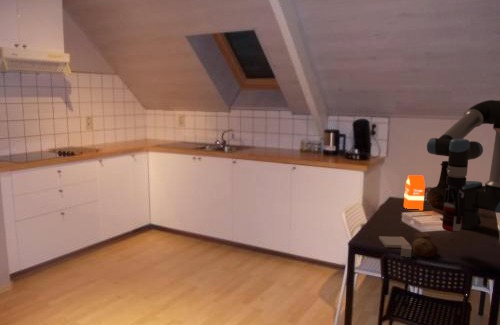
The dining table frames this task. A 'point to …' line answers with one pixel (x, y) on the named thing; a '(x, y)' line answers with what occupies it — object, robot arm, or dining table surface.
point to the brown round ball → (422, 236)
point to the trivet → (393, 241)
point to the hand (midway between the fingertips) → (451, 227)
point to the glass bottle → (439, 188)
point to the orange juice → (414, 192)
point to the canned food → (449, 217)
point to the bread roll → (423, 247)
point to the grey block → (406, 251)
